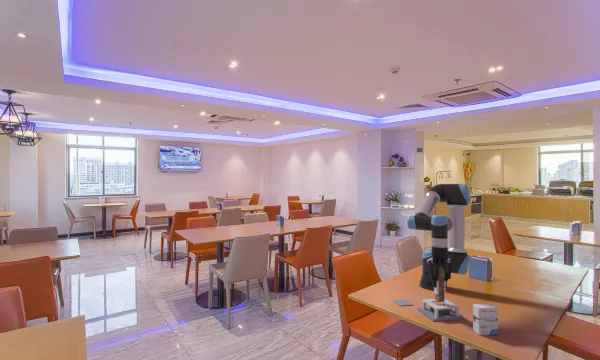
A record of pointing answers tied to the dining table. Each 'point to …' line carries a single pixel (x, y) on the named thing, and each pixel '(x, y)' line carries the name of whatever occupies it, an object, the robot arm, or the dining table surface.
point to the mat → (403, 302)
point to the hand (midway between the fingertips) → (439, 293)
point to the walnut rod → (440, 286)
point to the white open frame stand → (440, 310)
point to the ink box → (485, 319)
